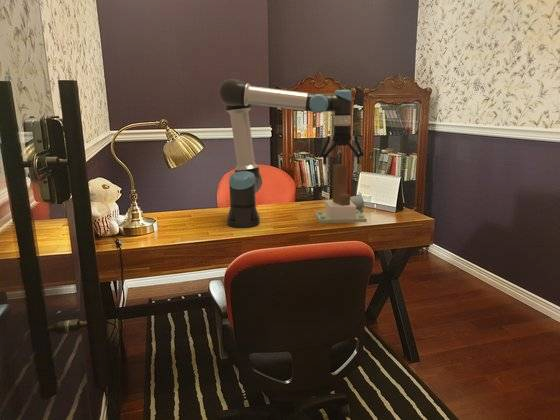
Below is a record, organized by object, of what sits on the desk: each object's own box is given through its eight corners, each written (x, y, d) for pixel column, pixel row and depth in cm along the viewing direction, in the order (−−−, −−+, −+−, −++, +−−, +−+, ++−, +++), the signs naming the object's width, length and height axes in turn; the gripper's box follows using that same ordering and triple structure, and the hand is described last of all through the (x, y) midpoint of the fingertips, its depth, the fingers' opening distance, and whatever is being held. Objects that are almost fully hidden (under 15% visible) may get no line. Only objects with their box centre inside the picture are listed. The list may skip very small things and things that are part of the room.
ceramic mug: (343, 209, 230) (343, 194, 228) (357, 208, 232) (358, 193, 230) (351, 214, 220) (352, 199, 218) (366, 213, 223) (367, 198, 220)
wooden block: (350, 204, 208) (351, 166, 203) (341, 205, 206) (342, 167, 202) (340, 200, 216) (341, 164, 211) (332, 201, 214) (333, 164, 210)
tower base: (319, 223, 205) (319, 207, 203) (315, 215, 219) (315, 200, 217) (366, 221, 207) (367, 206, 205) (359, 214, 220) (359, 199, 218)
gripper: (316, 125, 197) (315, 173, 203) (371, 125, 199) (369, 172, 204) (313, 124, 205) (313, 170, 210) (367, 124, 206) (365, 169, 212)
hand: (340, 171), depth 207 cm, fingers open, 13 cm apart
